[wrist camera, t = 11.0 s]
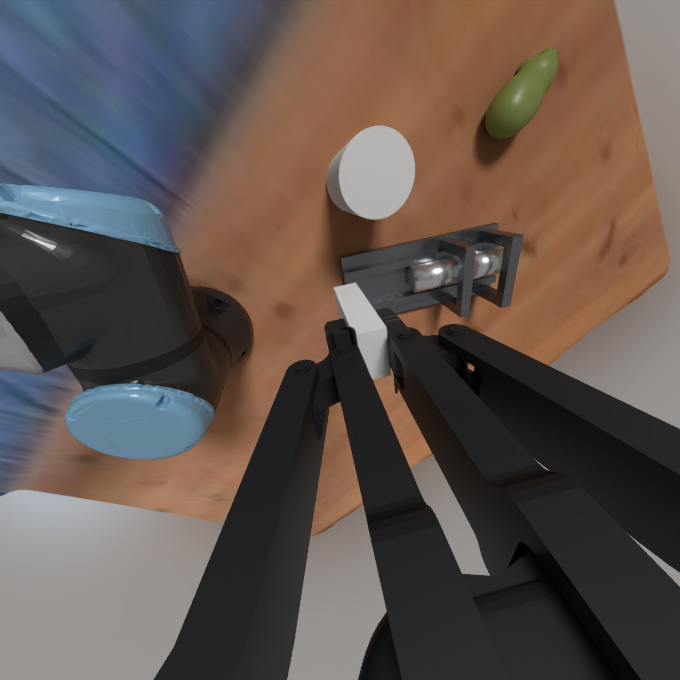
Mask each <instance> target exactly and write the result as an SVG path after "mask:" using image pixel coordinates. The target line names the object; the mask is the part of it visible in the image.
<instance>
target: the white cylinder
mask: <svg viewBox="0 0 680 680" xmlns="http://www.w3.org/2000/svg"><path fill="white" fill-rule="evenodd" d="M414 177H415V162H414V157H413V153H412V150H411V148H410V146H409V144H408V142H407V141H406V139H405V138H404V137H403V136H402V135H401V134H400V133H399V132H397V131H396V130H394V129H392V128H390V127H386V126H373V127H369V128H367V129H364V130H363V131H361V132H359V133H358V134H357V135H356V136H355V137H354V138H353V139H352V140H351V141H350V142H349V143H348V144H347V145H346V146H345V147H344V148H343V149H342V150H341V151H340V152H339V153H338V154H337V155H336V156H335V157H334V158H333V160H332V161H331V163H330V165H329V168H328V171H327V177H326V184H327V190H328V193H329V196H330V198H331V200H332V201H333V203H334V204H335V205H336V206H337V207H338V208H339V209H341V210H343V211H345V212H348V213H351V214H354V215H357V216H361V217H364V218H367V219H382V218H385V217H388V216H390V215H392V214H393V213H395V212H396V211H397V210H398V209H399V208H400V207H401V206H402V205H403V204H404V203H405V201H406V200H407V198H408V196H409V194H410V192H411V189H412V186H413V182H414Z"/></svg>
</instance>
